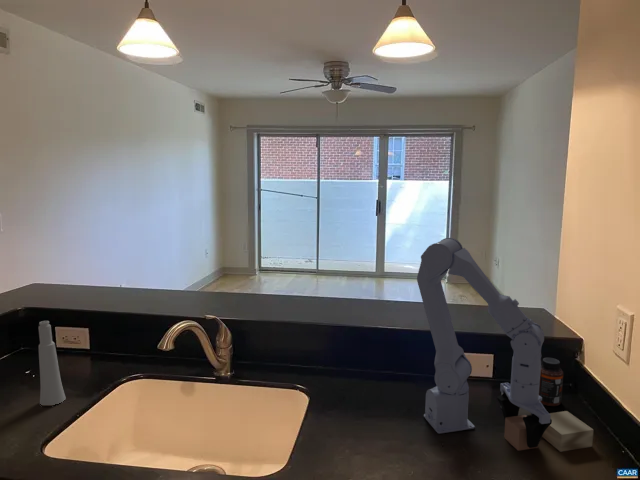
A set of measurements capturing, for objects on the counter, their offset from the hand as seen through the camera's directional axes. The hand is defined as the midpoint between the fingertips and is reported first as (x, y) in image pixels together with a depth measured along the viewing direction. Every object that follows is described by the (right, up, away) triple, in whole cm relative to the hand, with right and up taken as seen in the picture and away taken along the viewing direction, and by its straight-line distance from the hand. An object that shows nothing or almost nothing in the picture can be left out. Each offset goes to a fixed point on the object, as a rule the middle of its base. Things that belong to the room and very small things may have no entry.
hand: (521, 436), depth 105 cm
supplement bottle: (+14, +1, +18) cm, 23 cm away
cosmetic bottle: (-115, +1, +20) cm, 117 cm away
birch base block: (+10, -1, +1) cm, 10 cm away
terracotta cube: (0, -2, 0) cm, 2 cm away
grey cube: (+4, +1, +13) cm, 14 cm away
